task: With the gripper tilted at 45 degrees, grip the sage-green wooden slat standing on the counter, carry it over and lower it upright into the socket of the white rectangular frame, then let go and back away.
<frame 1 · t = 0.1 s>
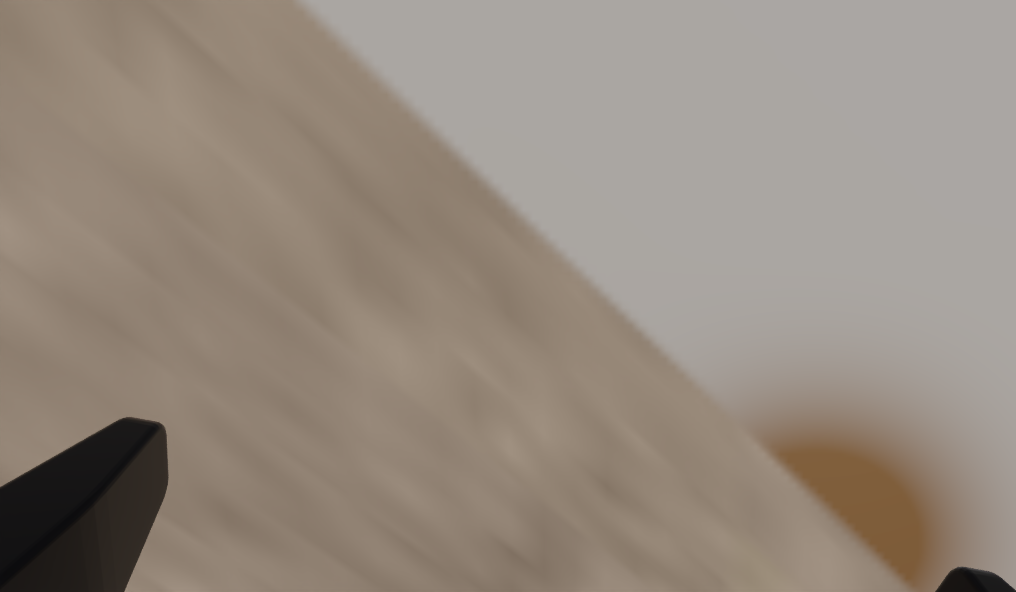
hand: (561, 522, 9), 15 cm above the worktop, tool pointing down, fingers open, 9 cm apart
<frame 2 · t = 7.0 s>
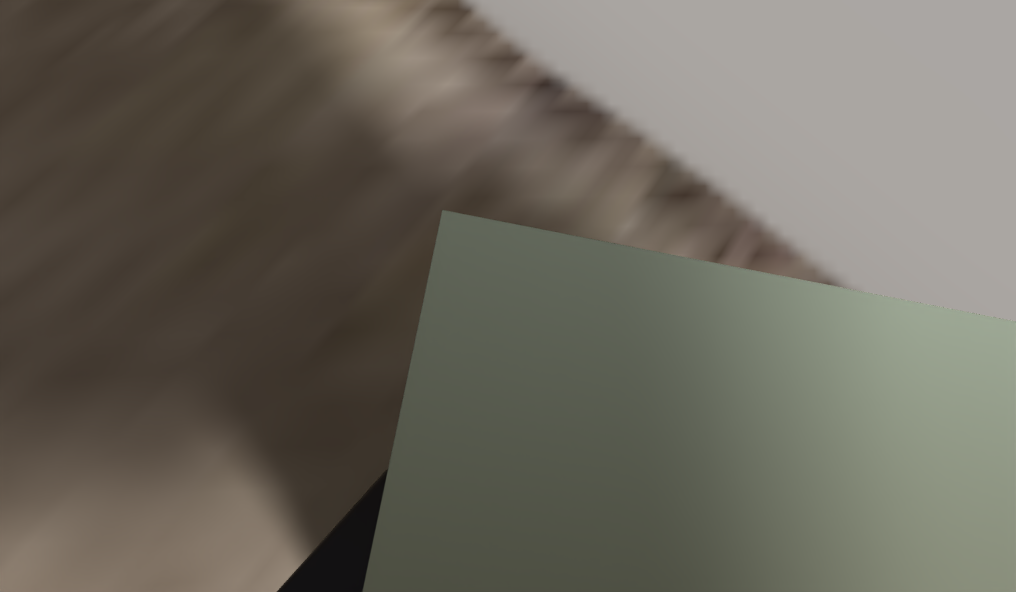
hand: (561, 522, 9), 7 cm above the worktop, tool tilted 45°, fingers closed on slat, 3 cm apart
slat: (494, 583, 15), on the worktop, touching gripper
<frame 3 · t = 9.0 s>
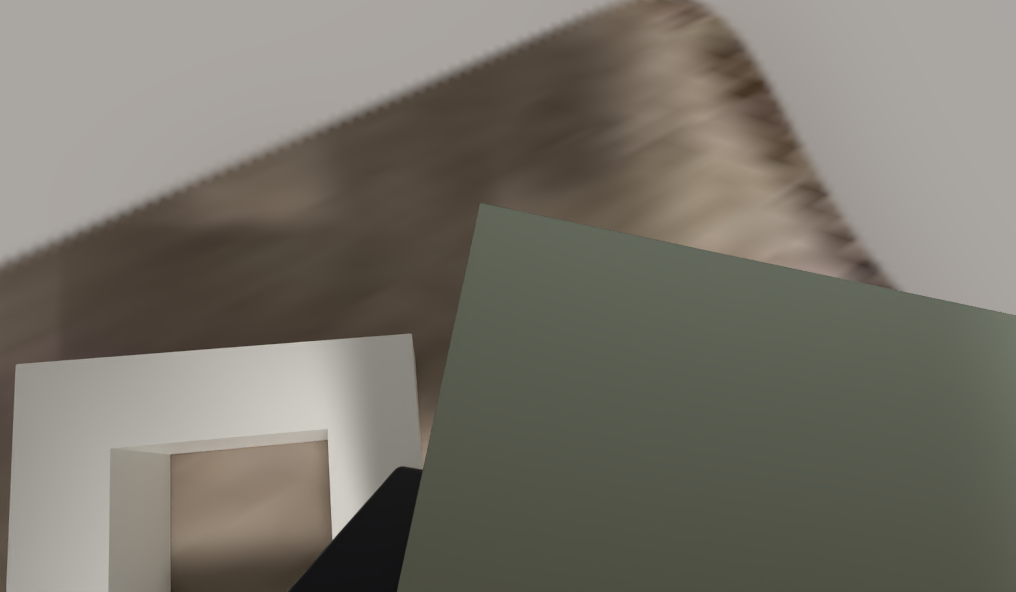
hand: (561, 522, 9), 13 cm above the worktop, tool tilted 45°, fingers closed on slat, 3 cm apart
white rectangular frame: (263, 575, 20), on the worktop
slat: (499, 582, 15), point 6 cm above the worktop, touching gripper
when the fingers open (7 cm above the worktop, at t = 11.3 s): slat stays where it is, resting in white rectangular frame.
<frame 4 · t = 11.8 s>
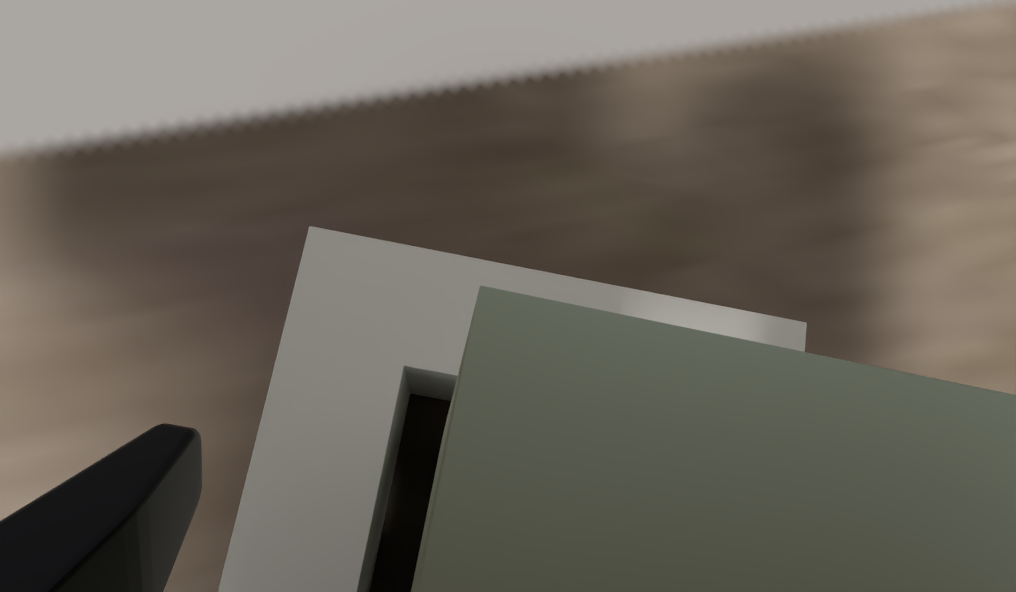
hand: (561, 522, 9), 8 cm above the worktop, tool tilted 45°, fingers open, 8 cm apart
white rectangular frame: (489, 575, 16), on the worktop
slat: (489, 576, 16), resting in white rectangular frame
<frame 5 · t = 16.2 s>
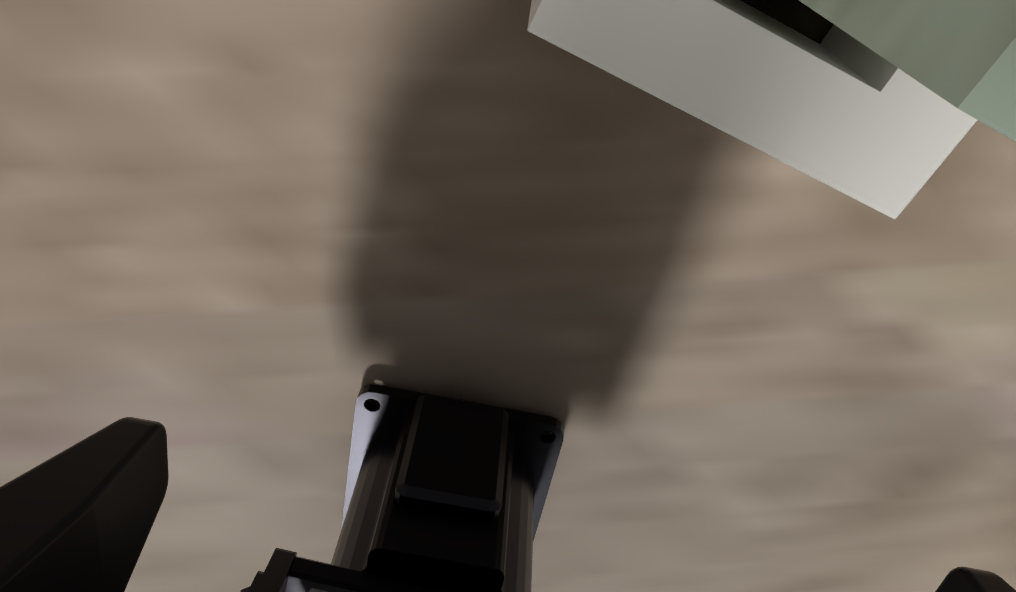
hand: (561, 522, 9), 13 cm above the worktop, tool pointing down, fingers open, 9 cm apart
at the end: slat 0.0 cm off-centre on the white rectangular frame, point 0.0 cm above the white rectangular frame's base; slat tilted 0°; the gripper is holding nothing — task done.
